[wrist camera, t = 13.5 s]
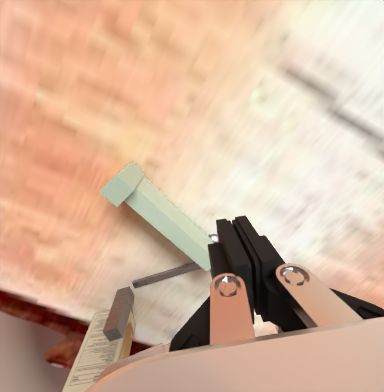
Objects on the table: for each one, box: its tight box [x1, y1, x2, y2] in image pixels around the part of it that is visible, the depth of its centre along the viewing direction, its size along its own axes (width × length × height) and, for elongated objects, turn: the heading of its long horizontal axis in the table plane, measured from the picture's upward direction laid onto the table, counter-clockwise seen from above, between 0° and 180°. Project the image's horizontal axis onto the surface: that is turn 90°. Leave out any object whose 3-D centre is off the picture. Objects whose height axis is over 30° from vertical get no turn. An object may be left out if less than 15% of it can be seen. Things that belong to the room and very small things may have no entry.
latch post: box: [102, 262, 201, 341], centre depth 30 cm, size 3×14×7 cm, turn 108°
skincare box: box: [62, 310, 135, 392], centre depth 30 cm, size 6×4×12 cm
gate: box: [99, 161, 213, 272], centre depth 25 cm, size 16×2×7 cm, turn 43°
